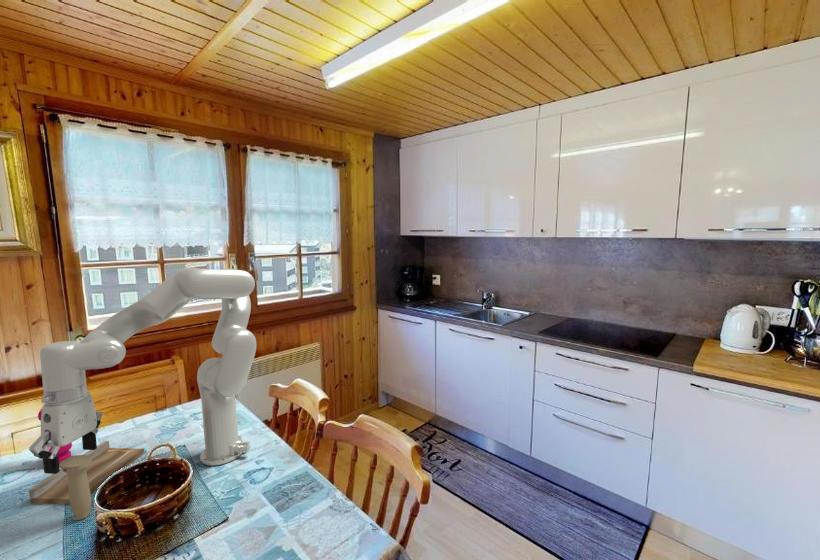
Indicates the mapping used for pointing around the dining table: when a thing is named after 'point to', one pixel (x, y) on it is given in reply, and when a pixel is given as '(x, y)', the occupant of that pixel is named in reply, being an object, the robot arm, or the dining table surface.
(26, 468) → the dining table surface
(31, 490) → the board
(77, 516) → the handle
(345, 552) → the dining table surface
